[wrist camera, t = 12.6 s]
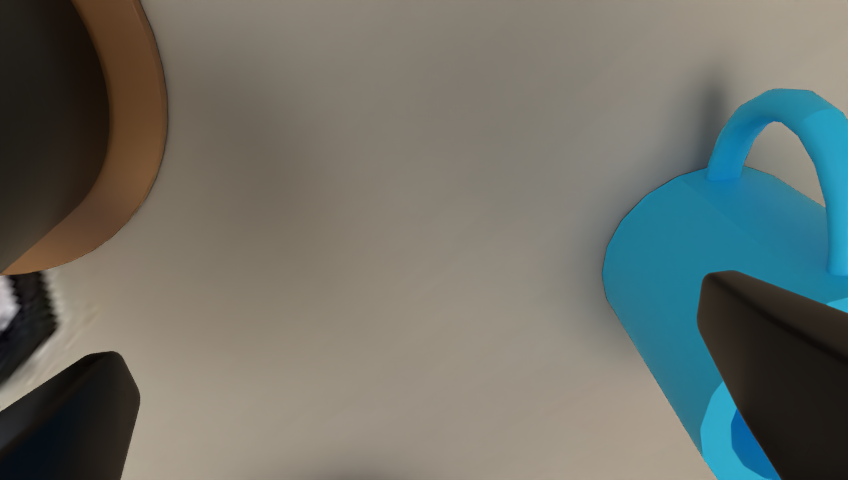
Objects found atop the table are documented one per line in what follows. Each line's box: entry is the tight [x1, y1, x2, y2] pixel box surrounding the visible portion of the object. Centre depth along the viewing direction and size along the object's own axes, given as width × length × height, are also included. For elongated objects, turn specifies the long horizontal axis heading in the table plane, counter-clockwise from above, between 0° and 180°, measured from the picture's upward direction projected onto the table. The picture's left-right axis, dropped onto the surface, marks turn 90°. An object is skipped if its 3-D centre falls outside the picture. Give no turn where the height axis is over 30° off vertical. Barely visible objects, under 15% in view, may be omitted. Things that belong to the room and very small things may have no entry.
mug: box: [602, 89, 848, 480], centre depth 18 cm, size 12×8×8 cm
